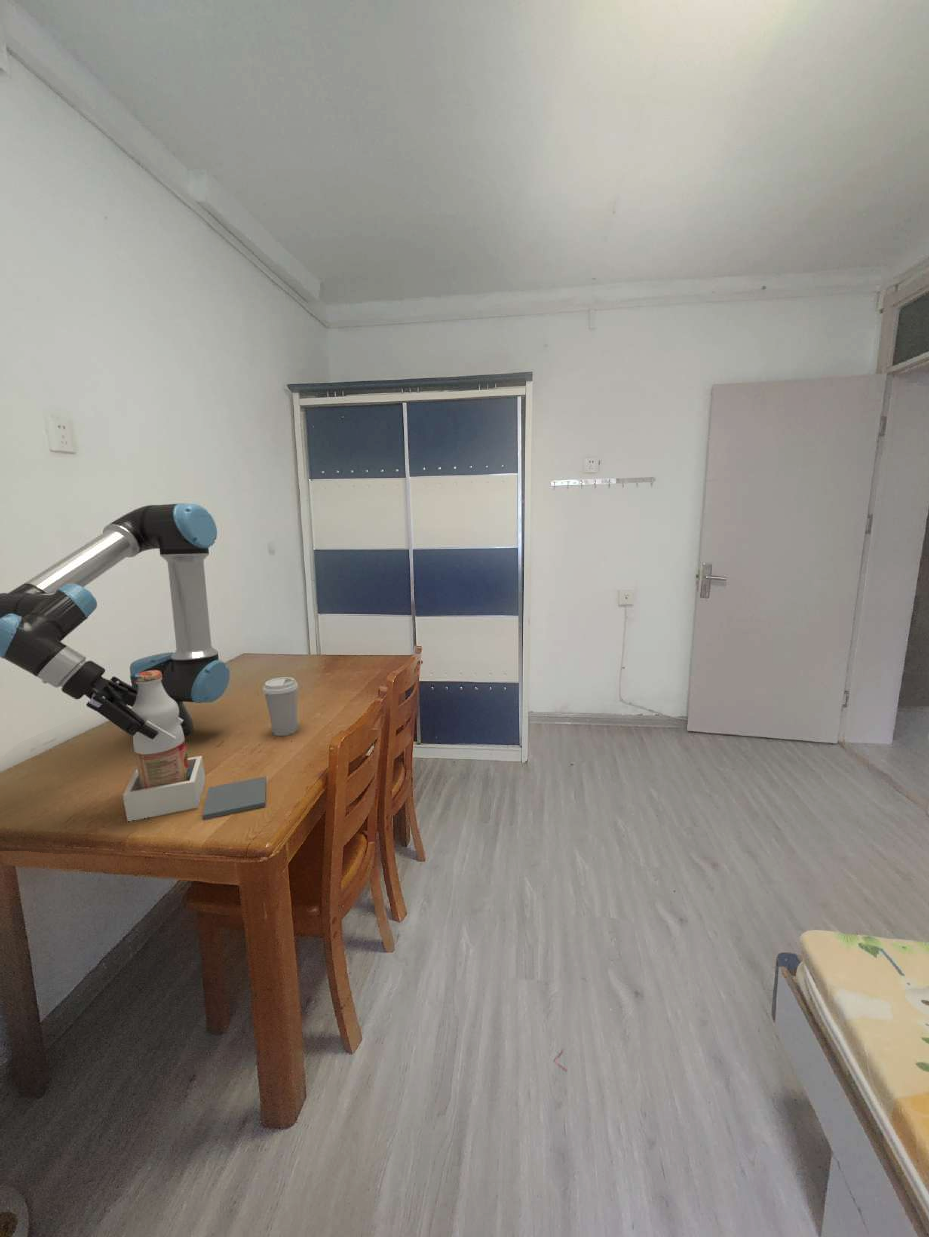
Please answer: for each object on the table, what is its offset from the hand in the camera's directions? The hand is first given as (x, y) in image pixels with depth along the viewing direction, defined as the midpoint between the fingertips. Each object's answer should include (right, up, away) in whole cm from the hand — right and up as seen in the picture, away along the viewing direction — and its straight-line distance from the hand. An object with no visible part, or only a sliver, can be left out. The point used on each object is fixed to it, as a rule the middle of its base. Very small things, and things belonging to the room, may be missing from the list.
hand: (175, 733), depth 111 cm
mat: (+13, -14, +1) cm, 19 cm away
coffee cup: (+11, -8, +36) cm, 39 cm away
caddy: (-2, -15, +2) cm, 15 cm away
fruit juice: (-3, -14, +2) cm, 14 cm away
